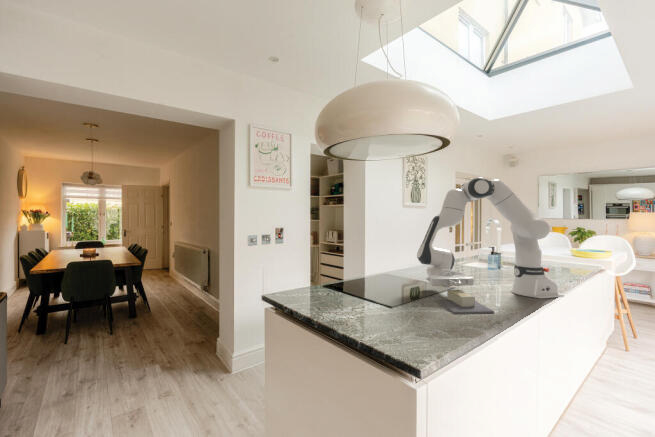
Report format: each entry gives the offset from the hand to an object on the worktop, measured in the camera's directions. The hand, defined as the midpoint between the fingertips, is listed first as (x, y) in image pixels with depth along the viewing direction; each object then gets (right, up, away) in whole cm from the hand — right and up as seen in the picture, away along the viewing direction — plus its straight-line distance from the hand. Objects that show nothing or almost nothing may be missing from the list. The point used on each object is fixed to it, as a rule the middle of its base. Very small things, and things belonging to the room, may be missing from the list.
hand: (458, 284), depth 136 cm
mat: (+1, -9, -4) cm, 10 cm away
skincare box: (0, -6, +6) cm, 9 cm away
